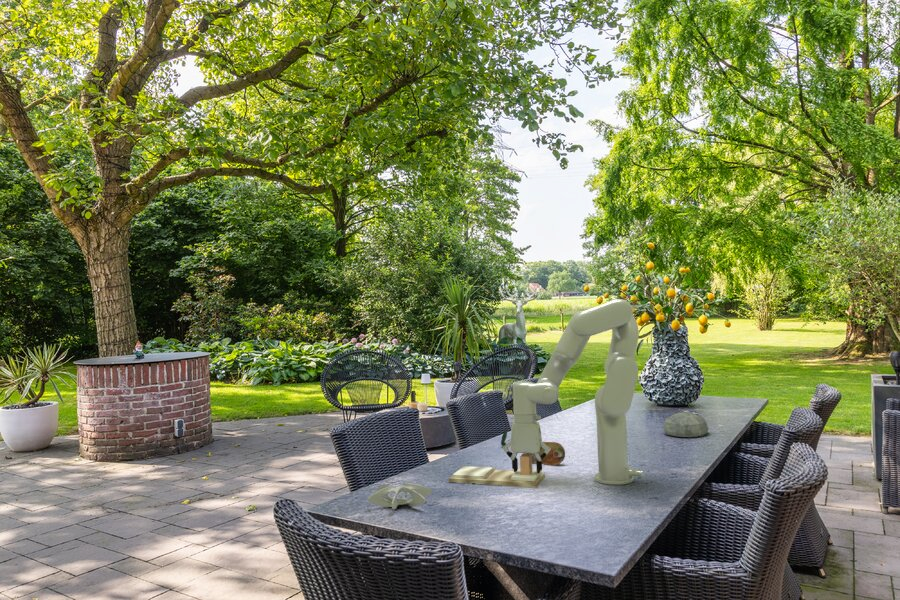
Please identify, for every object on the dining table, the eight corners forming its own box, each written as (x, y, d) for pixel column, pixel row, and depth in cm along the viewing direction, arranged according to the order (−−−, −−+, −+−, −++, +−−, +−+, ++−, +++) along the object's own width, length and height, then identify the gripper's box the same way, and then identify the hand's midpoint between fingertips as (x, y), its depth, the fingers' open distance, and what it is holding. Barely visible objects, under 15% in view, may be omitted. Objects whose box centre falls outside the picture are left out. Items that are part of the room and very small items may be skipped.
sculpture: (397, 493, 200) (396, 473, 200) (444, 504, 187) (444, 482, 188) (356, 508, 186) (355, 486, 187) (404, 520, 174) (404, 497, 174)
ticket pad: (544, 476, 214) (544, 469, 214) (536, 487, 201) (536, 479, 201) (461, 472, 224) (461, 465, 224) (449, 482, 210) (448, 474, 211)
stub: (541, 472, 213) (540, 451, 213) (534, 481, 202) (533, 459, 202) (519, 471, 216) (518, 450, 216) (511, 480, 204) (510, 458, 205)
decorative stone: (654, 434, 279) (653, 412, 279) (687, 429, 289) (686, 407, 289) (685, 440, 264) (684, 417, 264) (719, 435, 273) (718, 412, 273)
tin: (525, 463, 234) (524, 440, 234) (528, 461, 237) (527, 439, 237) (564, 466, 227) (563, 443, 227) (566, 464, 230) (565, 441, 230)
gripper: (552, 417, 210) (555, 470, 210) (502, 416, 216) (504, 467, 215) (548, 421, 203) (551, 476, 202) (497, 420, 209) (499, 473, 208)
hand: (527, 471), depth 209 cm, fingers open, 7 cm apart
